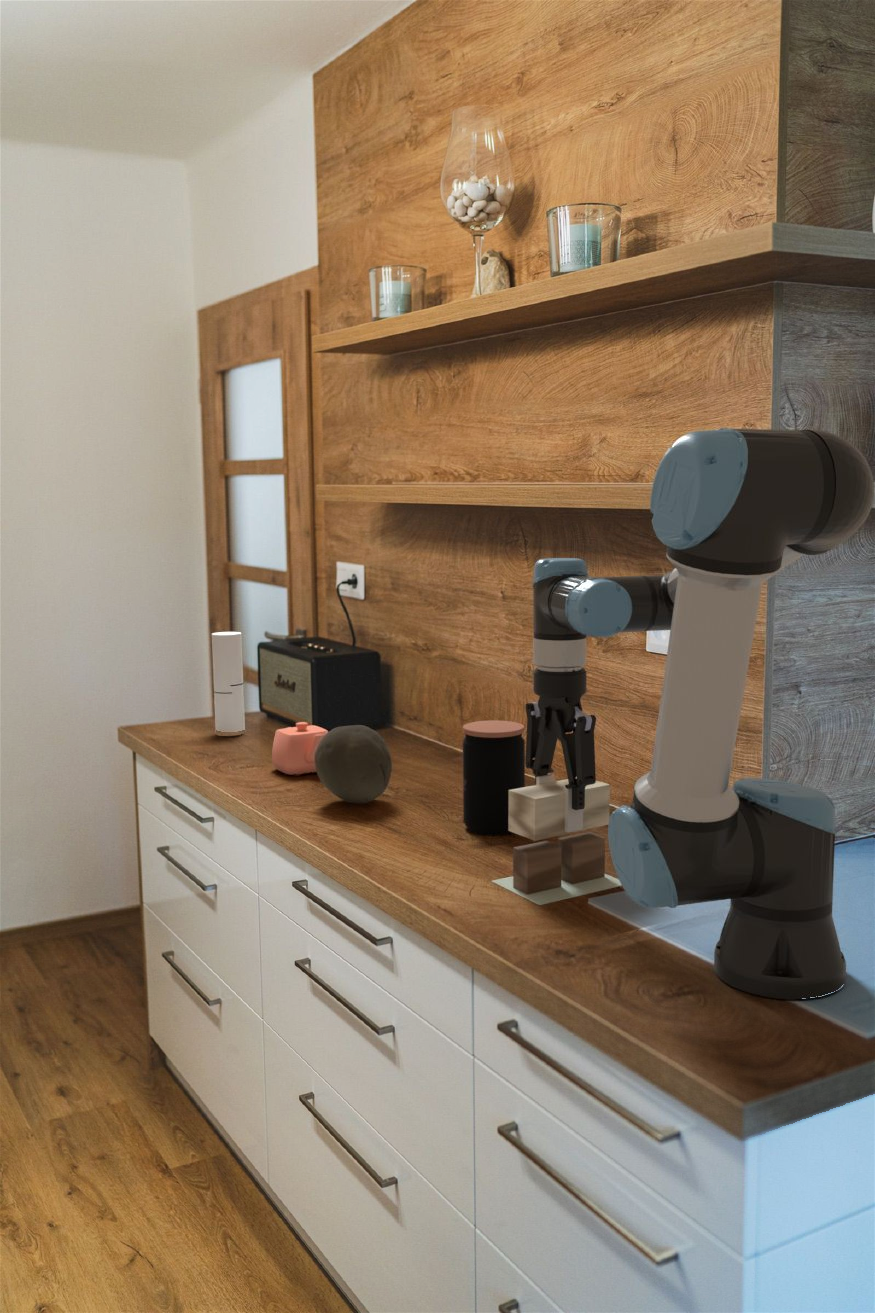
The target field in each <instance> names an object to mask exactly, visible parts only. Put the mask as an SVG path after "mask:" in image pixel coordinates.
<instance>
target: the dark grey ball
mask: <svg viewBox="0 0 875 1313" xmlns="http://www.w3.org/2000/svg"><path fill="white" fill-rule="evenodd" d="M392 764H393V762H392V756H391V753H390V751H389V748H388V746H387V744H386V741H385V740H384V738H383V737H382V736H381V735H380V734H379V732H377V731H376V730H374V729H372V728H370V727H369V726H366V725H362V724H354V725H352V724H351V725H343V726H337V727H334V728H332V729H331V730H330V731H328V733H327V734H326V735H325V736H324V737H323V738H322V739H321V741H320V742H319V745H318V748H317V750H316V752H315V767H316V770H317V772H316V775H317V776H318V778H319V780H320V782H321V783H322V784H323V786H324V787H325V788H326V789H327V790H328V791H330V793H332V794H333V795H334V796H336V797H338V798H339V799H340V800H343V801H345V802H347V803H348V802H349V803H351V804H360V805H363V804H364V805H365V804H367V803H370V802H373V801H374V800H375V799H378V798H379V797H380V796H382V794H384V793H385V791H386V790H387V788H388V786H389V784H390V779H391V774H392V768H393V766H392Z"/></svg>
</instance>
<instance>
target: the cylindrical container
mask: <svg viewBox="0 0 875 1313" xmlns="http://www.w3.org/2000/svg"><path fill="white" fill-rule="evenodd" d="M242 638H243V637H242V632H240V631H221V632H219V631H218V632H213V633H211V647H212V648H211V649H212V673H213V674H212V676H213V697H214V698H213V699H214V700H213V704H214V720H215V721H214V726H215V731H216V730H217V731H221V732H238V731H242V730H245V731H246V721H245V719H246V718H245V696H244V695H245V694H244V693H245V690H244V666H243V643H242V642H243V641H242V640H243V639H242Z"/></svg>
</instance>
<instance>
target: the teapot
mask: <svg viewBox="0 0 875 1313" xmlns="http://www.w3.org/2000/svg"><path fill="white" fill-rule="evenodd" d="M308 724H309V723H308V722H306V721H300V722H296V723H295V726H292V727H291V726H288V727H285V728H284V727H283V728H278V729H277V730H275V732H274V734H275V735H274V738H273V743H272V753H271V760H272V764H273V767H274V769H275V770H277V771H279V772H281V773H284V774H285V775H292V776H294V775H293V774H302V775H303V774H309V773H311V772H312V773H317V770H316V767H315V752H316V750H317V748H318V745H319V742H320V741H321V739H322V738H323V737H324V736H325V735H326V734H327V733H328V732H329V731H328V730H327V729H326V728H323V727H320V726H318V725H314V724H313V725H312V724H311V725H308Z"/></svg>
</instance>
